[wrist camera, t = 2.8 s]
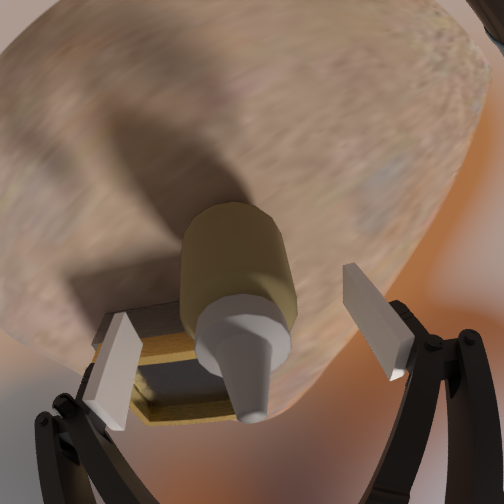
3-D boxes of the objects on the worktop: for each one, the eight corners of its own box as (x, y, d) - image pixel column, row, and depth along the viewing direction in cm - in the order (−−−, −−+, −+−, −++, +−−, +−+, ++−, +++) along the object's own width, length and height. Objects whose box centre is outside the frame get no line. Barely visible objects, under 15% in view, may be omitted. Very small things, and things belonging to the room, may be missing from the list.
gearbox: (273, 281, 28) (289, 331, 22) (286, 358, 34) (299, 406, 27) (105, 314, 28) (84, 362, 21) (146, 380, 33) (139, 426, 27)
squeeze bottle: (206, 175, 23) (178, 312, 7) (290, 211, 25) (392, 365, 9) (173, 254, 26) (132, 434, 10) (251, 283, 28) (286, 457, 12)
